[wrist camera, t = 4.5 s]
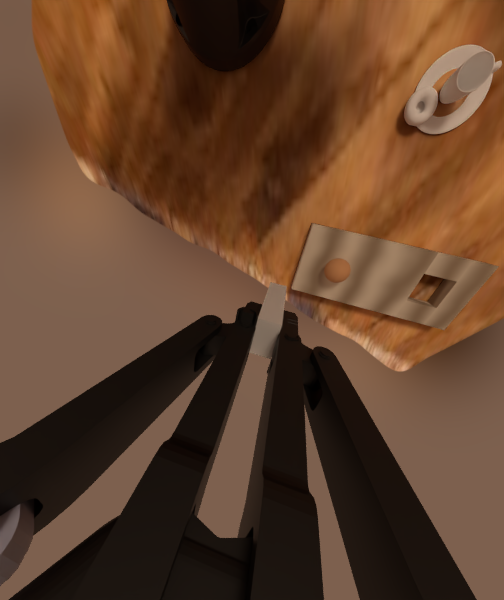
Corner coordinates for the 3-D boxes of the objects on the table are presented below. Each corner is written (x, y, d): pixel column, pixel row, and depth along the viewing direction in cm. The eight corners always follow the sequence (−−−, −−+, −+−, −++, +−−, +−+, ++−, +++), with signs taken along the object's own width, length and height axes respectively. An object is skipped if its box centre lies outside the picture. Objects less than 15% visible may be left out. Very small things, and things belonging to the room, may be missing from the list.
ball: (319, 275, 33) (322, 282, 30) (327, 253, 31) (332, 258, 28) (341, 280, 33) (347, 288, 29) (351, 259, 31) (358, 265, 28)
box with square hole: (291, 284, 38) (291, 288, 36) (311, 222, 32) (312, 223, 30) (434, 322, 35) (444, 329, 33) (483, 262, 29) (498, 266, 27)
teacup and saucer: (392, 134, 26) (408, 121, 22) (420, 49, 22) (444, 17, 19) (464, 136, 24) (493, 123, 21) (506, 46, 21) (549, 12, 17)
